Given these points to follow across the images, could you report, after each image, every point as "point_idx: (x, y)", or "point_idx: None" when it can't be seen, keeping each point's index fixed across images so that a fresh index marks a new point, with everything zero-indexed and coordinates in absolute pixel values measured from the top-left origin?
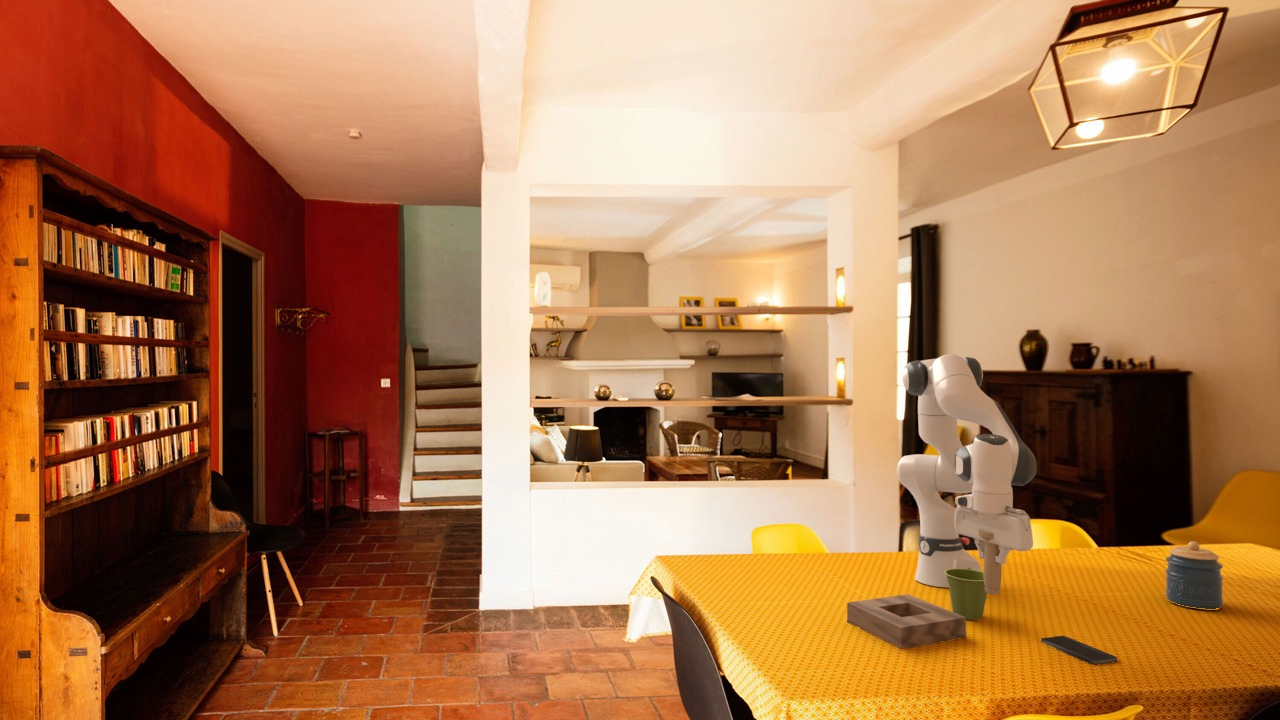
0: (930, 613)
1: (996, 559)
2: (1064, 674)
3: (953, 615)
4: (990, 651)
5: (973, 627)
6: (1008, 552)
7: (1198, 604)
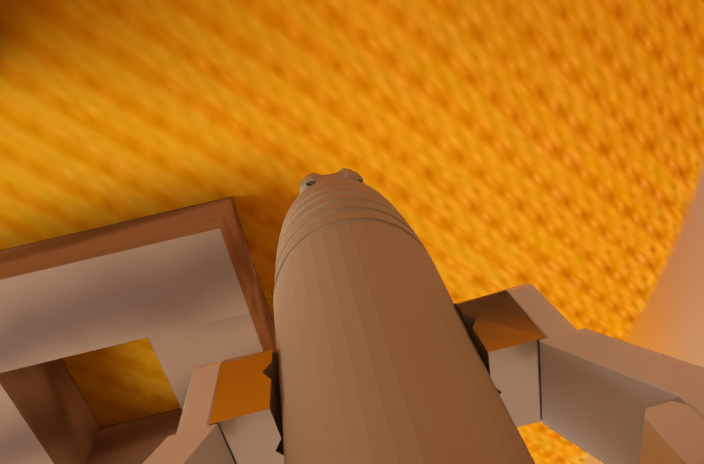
0: (158, 346)
1: None
2: (615, 55)
3: (188, 267)
4: (373, 184)
5: (96, 86)
6: (676, 366)
7: None
